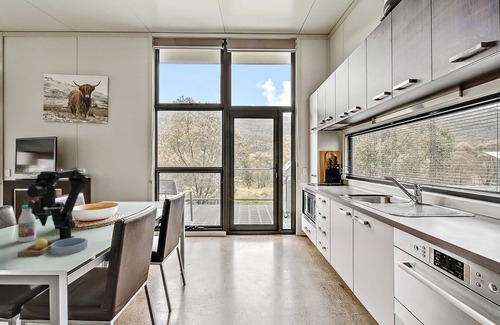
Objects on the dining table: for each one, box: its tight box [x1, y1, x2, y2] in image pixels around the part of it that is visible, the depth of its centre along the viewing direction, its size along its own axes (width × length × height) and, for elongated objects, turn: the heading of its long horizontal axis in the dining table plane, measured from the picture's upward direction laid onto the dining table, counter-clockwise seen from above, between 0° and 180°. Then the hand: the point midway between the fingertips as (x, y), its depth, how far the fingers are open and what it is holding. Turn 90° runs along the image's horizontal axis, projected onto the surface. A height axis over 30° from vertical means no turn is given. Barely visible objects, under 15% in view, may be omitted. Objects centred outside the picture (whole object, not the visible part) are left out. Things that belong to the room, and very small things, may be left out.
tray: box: [16, 240, 58, 258], centre depth 135 cm, size 16×10×2 cm, turn 8°
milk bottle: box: [17, 204, 37, 243], centre depth 152 cm, size 8×8×20 cm
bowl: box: [50, 237, 88, 256], centre depth 137 cm, size 16×16×4 cm
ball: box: [34, 238, 48, 249], centre depth 137 cm, size 5×5×5 cm
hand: (49, 223), depth 143 cm, fingers open, 9 cm apart
